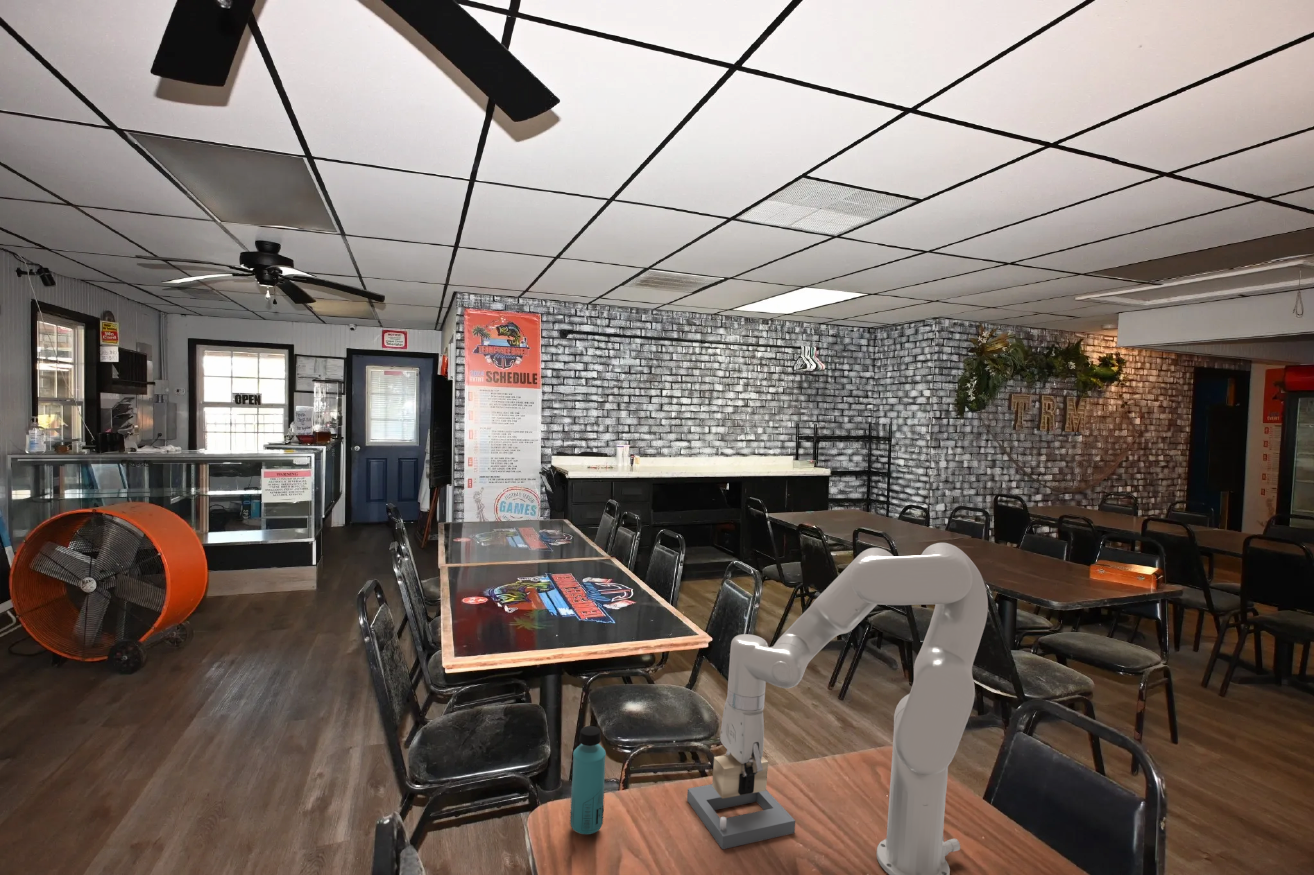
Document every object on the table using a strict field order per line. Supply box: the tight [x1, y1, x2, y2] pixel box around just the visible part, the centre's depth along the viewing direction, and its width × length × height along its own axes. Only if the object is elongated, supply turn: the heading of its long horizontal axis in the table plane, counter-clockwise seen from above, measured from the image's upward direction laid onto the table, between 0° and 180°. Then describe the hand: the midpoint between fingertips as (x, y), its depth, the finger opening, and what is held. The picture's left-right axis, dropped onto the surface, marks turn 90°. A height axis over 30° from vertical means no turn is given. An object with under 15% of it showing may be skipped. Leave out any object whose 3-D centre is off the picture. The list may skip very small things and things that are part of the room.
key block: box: [711, 754, 769, 799], centre depth 131 cm, size 4×10×6 cm, turn 112°
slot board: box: [686, 783, 796, 850], centre depth 131 cm, size 16×16×4 cm
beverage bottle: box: [569, 725, 607, 835], centre depth 124 cm, size 6×7×20 cm
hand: (739, 785), depth 131 cm, fingers closed on key block, 4 cm apart
